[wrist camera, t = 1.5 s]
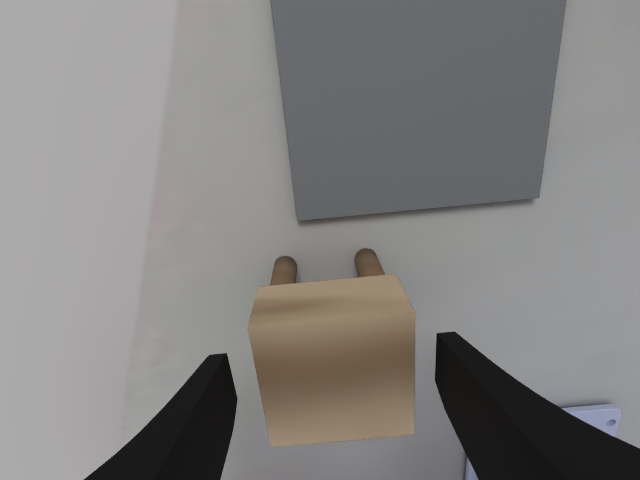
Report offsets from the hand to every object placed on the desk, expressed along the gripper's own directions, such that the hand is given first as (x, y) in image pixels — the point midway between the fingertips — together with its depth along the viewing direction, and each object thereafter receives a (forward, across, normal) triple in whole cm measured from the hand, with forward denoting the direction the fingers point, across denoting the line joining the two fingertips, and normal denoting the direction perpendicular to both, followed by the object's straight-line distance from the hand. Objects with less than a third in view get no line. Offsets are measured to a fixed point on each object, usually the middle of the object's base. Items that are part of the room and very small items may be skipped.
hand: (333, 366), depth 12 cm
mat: (+5, -4, -9) cm, 11 cm away
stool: (+5, 0, 0) cm, 5 cm away
